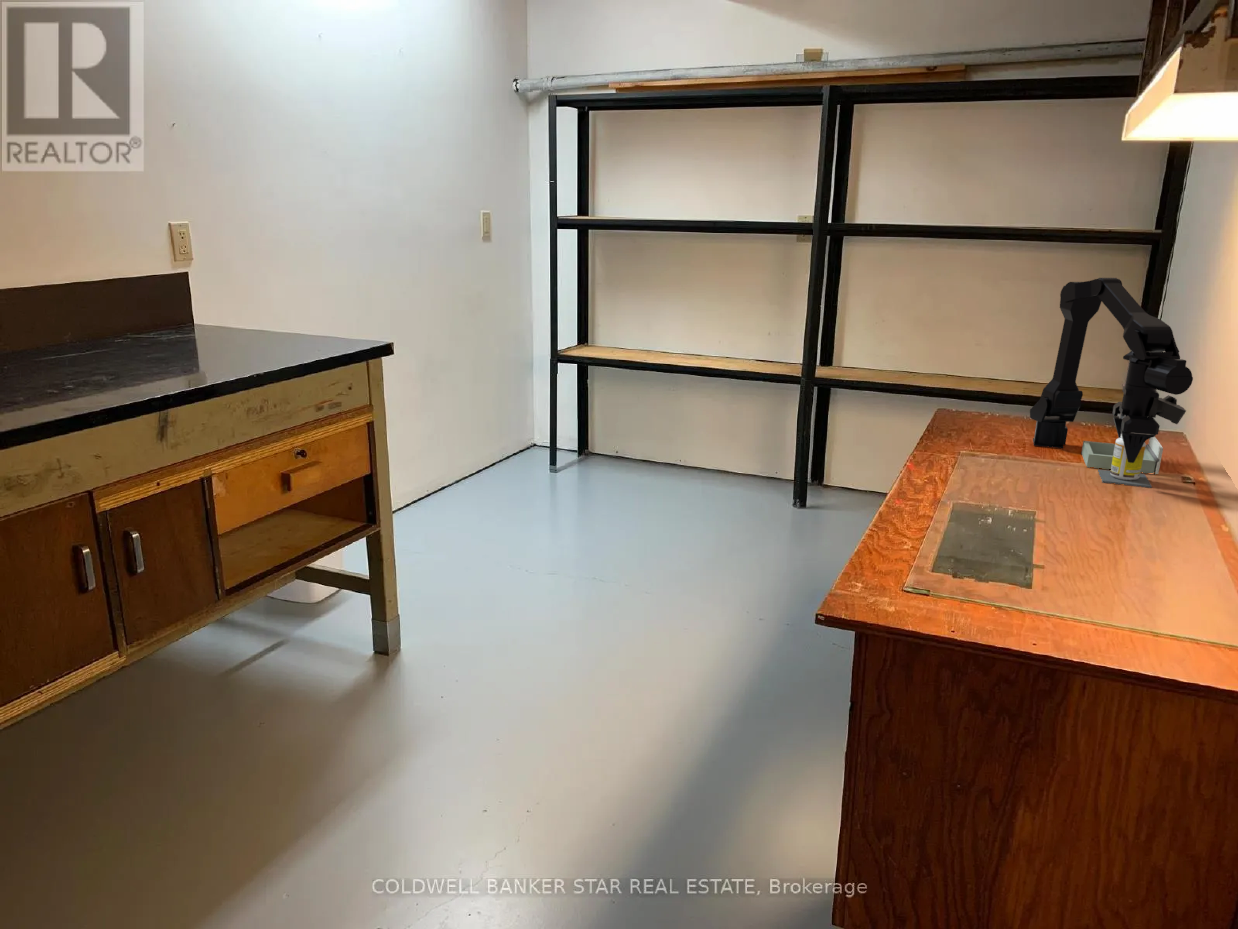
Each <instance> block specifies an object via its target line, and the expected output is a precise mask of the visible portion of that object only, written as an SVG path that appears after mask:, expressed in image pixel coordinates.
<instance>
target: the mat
mask: <svg viewBox="0 0 1238 929" xmlns="http://www.w3.org/2000/svg"><path fill="white" fill-rule="evenodd" d="M1110 471H1111V470H1109V469H1097V472H1099V473H1098V475H1099V478H1100V477H1101V478H1100V480H1101V479H1102V480H1101V483H1103V484H1111V483H1115V484H1114V485H1120V484H1124V485H1123V486H1131V487H1139V486H1141V488H1147V489H1148V488H1149V489H1152V487H1153V486H1152V484H1151V482H1150V480H1149V478H1148V477H1147V476H1146V475H1147V474H1146V473H1140V477H1139V479H1137V480H1122V479H1117V478H1115V477H1113V476H1111V474H1110Z"/></svg>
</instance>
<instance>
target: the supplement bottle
mask: <svg viewBox="0 0 1238 929" xmlns="http://www.w3.org/2000/svg"><path fill="white" fill-rule="evenodd" d="M1114 444H1115V447H1114V453H1113V459H1112V465H1111V470H1109V471H1110V474H1111V476H1113V477H1115V478H1117V479H1122V480H1137V479H1139V477H1140V474H1142V473H1141V467H1142V462H1143V456H1144V451H1145V447H1146V445H1147V444H1146V441H1145V442H1144V444H1143V446H1142V448H1141V450H1140V452H1139V454H1138V456H1137V458H1136V460H1135V462H1134V463H1129V462H1128V460H1127V456H1126V451H1125V447H1124V443H1123V438H1122V434H1121V438H1119V437H1118V438H1116V439H1115V443H1114Z"/></svg>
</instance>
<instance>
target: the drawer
mask: <svg viewBox="0 0 1238 929" xmlns="http://www.w3.org/2000/svg"><path fill="white" fill-rule="evenodd" d="M1114 447H1115V443H1111V442H1101V441H1100V442H1099V441H1089V440H1083V441H1082V448H1081V456H1082V458H1083V461H1084V463H1085V464H1084V465H1085V467H1086V466H1087V467H1086V468H1090V467H1094V468H1093V469H1099V468H1102V469H1101V470H1109V469H1111V465H1112V459H1113V453H1114ZM1163 453H1164V447H1163V446H1162V444H1161V443H1160V441H1159V440H1158V439H1157V437H1156V436H1155V437H1151V438H1150V439H1148V443H1147V444H1146V445H1145V451H1144V456H1143V462H1142V467H1141V472H1143V473H1142V474H1147V473H1153V474H1154V472H1155V474H1154V475H1156V474H1158V475H1159V473H1160V467H1161V462H1162V456H1163Z"/></svg>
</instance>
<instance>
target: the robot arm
mask: <svg viewBox="0 0 1238 929" xmlns="http://www.w3.org/2000/svg"><path fill="white" fill-rule="evenodd" d="M1059 296H1060V299H1059V300H1060V301H1059V308H1060V311H1061V313H1062V316H1063V318H1064V321H1063V327H1062V331H1061V336H1060V340H1059V346H1058V351H1057V356H1056V360H1055V366H1054V371H1053V376H1052V379H1051V380H1050V381H1049V382H1048V383H1047V384H1046V385H1045V386H1044V387H1043V389H1042V392H1041V395H1040V398H1039V400H1038V401H1037V402H1036V403H1035V404H1034V405H1033V406H1032V407H1031V408H1030V410H1029V418H1030V419H1031V420H1033V421H1036V423H1035V430H1034V436H1033V438H1032V443H1033V446H1034V447H1043V448H1044V447H1045V448H1054V449H1064V446H1065V445H1066V441H1067V437H1068V426H1067V423H1069V422H1070V423H1072V422H1074V420H1075V418H1076V416H1077V414H1078V412H1079V409H1080V408H1081V407H1082V405H1081V404H1082V399H1083V393H1084V392H1083V391H1082V390H1080V388H1079V387H1078V385H1077V377H1078V373H1079V369H1080V364H1081V363H1080V362H1081V359H1082V358H1081V357H1082V353H1083V348H1084V344H1085V340H1086V334H1087V330H1088V326H1089V322H1090V321H1091V319H1092V318H1094V316H1095V315H1096V314H1097V313H1098V312H1099V310H1100V307H1101V305H1102V304H1103V305H1104V306H1105V307H1106V308H1107V309H1108V311H1109V312H1110V313H1111V315H1112V316H1113V317H1114V319H1115V320H1116V321H1117V322H1118V323H1119V325H1121V327H1122V329H1123V334H1122V338H1123V340H1124V341H1125V343H1126V345H1127V347H1128V348H1129V350H1130V351H1129V352H1128V353H1126V354H1124V355H1123V357H1122V358H1123V360H1125V361H1129V362H1128V367H1127V372H1126V379H1125V384H1124V386H1122V393H1123V396H1122V401H1118V402H1116V403H1115V404H1114V405H1113V407H1112V415H1113V416H1112V418H1113V422H1114V426H1115V429H1116V432H1117V436H1118V438H1121V434H1122V438H1123V443H1124V447H1125V451H1126V456H1127V460H1128V462H1129V463H1134V462H1135V460H1136V458H1137V456H1138V454H1139V452H1140V450H1141V448H1142V446H1143V444H1144V442H1145V443H1146V441H1147V440H1148V441H1149V439H1150V438H1151V437H1155V438H1156V436H1157V435H1159V432H1160V426H1161V425H1160V423H1158V421H1157V420H1156V419H1155V418H1156V417H1157V416H1158V417H1161V418H1162V419H1165V420H1168V421H1170V422H1171V423H1172V424H1174V425H1179V423H1180V422H1181V420H1182V418H1183V416H1184V415H1185V413H1187V410H1186V409H1185V408H1184V407H1182V406H1181V404H1180V405H1179V404H1177V403H1178V399H1177V398H1176V397H1175V396H1176V395H1182V394H1183V393H1185V392H1187V391H1188V390H1189V388H1191V386H1192V383H1193V380H1194V377H1193V374H1192V371H1191V369H1190V368H1189V367H1188V366H1186V365H1187V360H1186V359H1183V358H1181V356H1180V350H1179V348H1178V345H1177V343H1176V340H1175V337H1174V331H1173V329H1172V328H1171V326H1170V325H1169V324H1167V323H1166V322H1165V321H1163V320H1162V319H1160V318H1159V317H1155V316H1152V315H1150V314H1148V313H1147V312H1146V311H1145V310H1144V309H1143V308H1142V307H1141V305H1140V304H1139V303H1138V302H1137V301H1136V299H1135V298H1134V297H1133V296H1132V295H1131V294H1130V292H1129V291H1128V290H1127V289H1126V288H1125V287H1124V286H1123V282H1122V280H1121V279H1120V278H1117V277H1098V278H1094V279H1092V280H1088V281H1087V280H1086V281H1069V282H1067V283H1066V284H1065V285H1063V287H1062V288H1061V291H1060V293H1059ZM1157 390H1158V391H1160V392H1164V393H1167V394H1168V395H1167V396H1165V397H1163V398H1162V397H1160V393H1159V392H1158V391H1157ZM1169 394H1171V395H1175V396H1171V395H1169Z"/></svg>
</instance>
